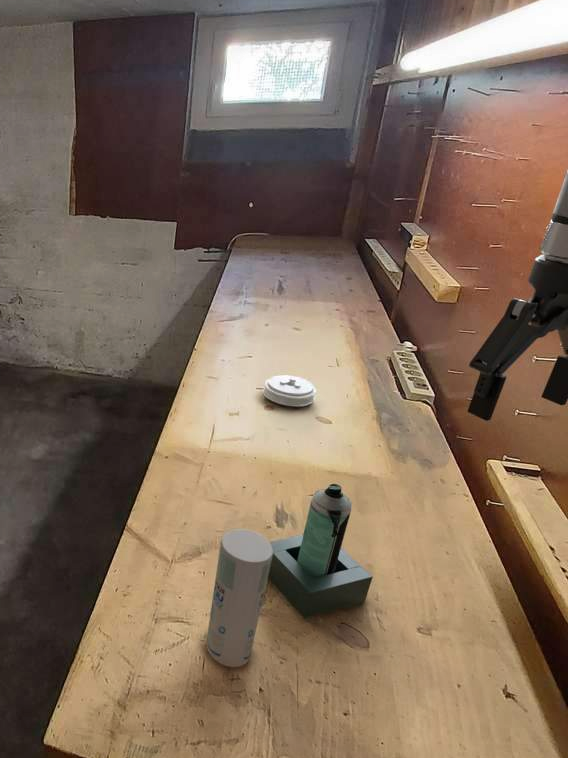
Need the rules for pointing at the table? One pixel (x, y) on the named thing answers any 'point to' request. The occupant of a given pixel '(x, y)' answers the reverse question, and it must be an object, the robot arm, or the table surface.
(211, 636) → the spray can
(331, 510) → the spray can
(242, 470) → the table surface
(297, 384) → the lid
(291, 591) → the holder
